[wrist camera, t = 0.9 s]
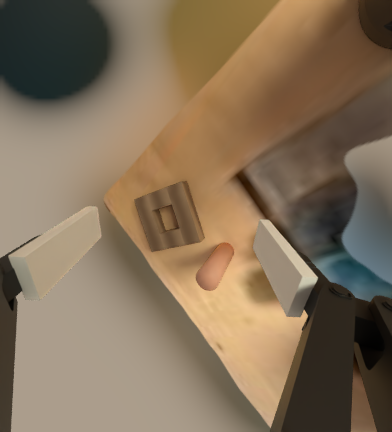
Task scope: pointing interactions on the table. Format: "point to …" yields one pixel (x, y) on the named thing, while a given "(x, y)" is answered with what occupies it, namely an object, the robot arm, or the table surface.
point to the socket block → (183, 211)
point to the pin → (215, 267)
